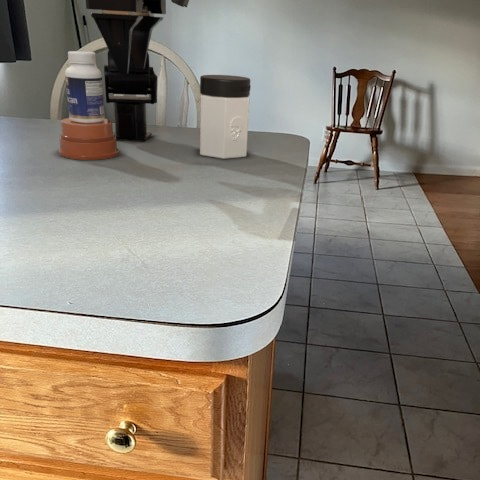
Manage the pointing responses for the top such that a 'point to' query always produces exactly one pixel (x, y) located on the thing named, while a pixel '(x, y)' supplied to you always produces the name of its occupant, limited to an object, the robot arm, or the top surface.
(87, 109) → the pill bottle
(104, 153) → the cup stack
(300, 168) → the top surface
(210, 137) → the jar
